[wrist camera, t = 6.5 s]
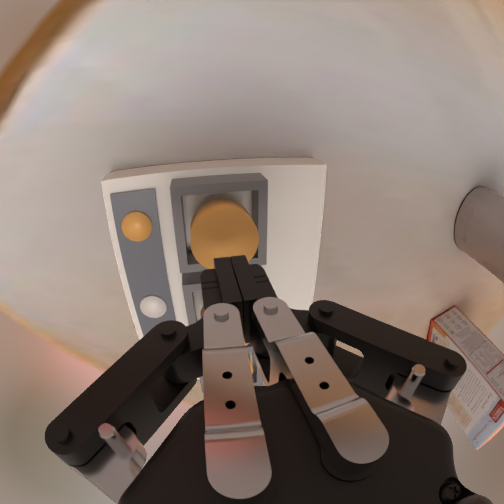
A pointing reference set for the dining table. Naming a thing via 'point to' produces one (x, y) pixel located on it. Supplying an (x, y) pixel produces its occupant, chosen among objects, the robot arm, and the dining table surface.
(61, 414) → the robot arm
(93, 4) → the dining table surface
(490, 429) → the cracker box
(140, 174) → the button console
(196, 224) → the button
